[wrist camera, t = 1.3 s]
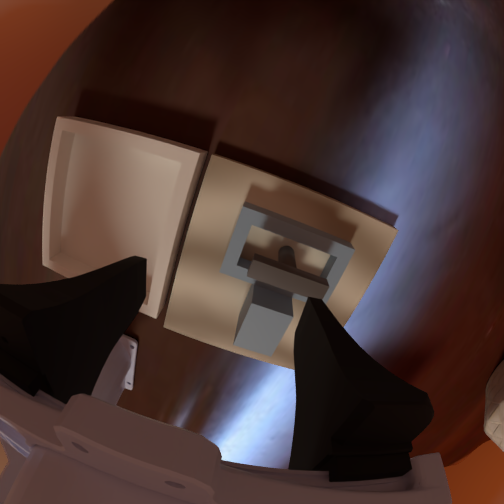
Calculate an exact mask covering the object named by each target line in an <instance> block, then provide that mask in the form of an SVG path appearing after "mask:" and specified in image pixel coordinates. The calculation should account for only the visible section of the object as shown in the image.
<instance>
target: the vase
mask: <svg viewBox="0 0 504 504" xmlns="http://www.w3.org/2000/svg"><path fill="white" fill-rule="evenodd" d="M484 431H485V433H486V434H487V435H488V436H489V437H490V438H491V439H492V440H493V441H494V442H495V443H496V444H497V445H498V446H499V448H501V449H502V451H504V359H503V361H502V362H501V363H500V364H499V365H498V366H497V368H496V369H495V370H494V372H493V373H492V375H491V377H490V378H489V380H488V383H487V386H486V403H485V420H484Z"/></svg>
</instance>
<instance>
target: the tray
mask: <svg viewBox="0 0 504 504" xmlns="http://www.w3.org/2000/svg"><path fill="white" fill-rule="evenodd" d="M207 154H208V151H205V150H202V149H199V148H196V147H193V146H189V145H186V144H183V143H179V142H176V141H173V140H169V139H166V138H162V137H159V136H155V135H151V134H148V133H144V132H140V131H136V130H132V129H128V128H124V127H120V126H116V125H112V124H108V123H103V122H99V121H94V120H90V119H85V118H80V117H75V116H71V117H57V120H56V124H55V129H54V133H53V139H52V144H51V150H50V156H49V162H48V169H47V177H46V186H45V196H44V210H43V236H42V255H43V265H44V266H46V267H48V268H50V269H52V270H53V271H55V272H57V273H59V274H61V275H63V276H65V277H67V278H71V277H75V276H79V275H82V274H85V273H88V272H91V271H93V270H96V269H99V268H102V267H104V266H107V265H110V264H112V263H115V262H117V261H120V260H123V259H125V258H128V257H131V256H139V257H143V258H146V259H147V273H146V298H145V300H144V302H143V304H142V306H141V308H140V310H139V312H142V313H144V314H146V315H149V316H151V317H154V318H157V317H158V315H159V313H160V312H161V310H162V308H163V307H164V305H165V303H166V299H167V295H168V291H169V287H170V282H171V278H172V274H173V270H174V266H175V262H176V259H177V255H178V251H179V247H180V243H181V240H182V236H183V233H184V229H185V225H186V222H187V218H188V215H189V212H190V208H191V205H192V201H193V198H194V195H195V192H196V188H197V185H198V182H199V179H200V176H201V173H202V169H203V166H204V163H205V160H206V157H207Z"/></svg>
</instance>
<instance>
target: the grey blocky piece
mask: <svg viewBox="0 0 504 504" xmlns="http://www.w3.org/2000/svg"><path fill="white" fill-rule="evenodd" d="M252 225H253V226H256V227H259V228H262V229H264V230H267V231H270V232H272V233H275V234H278V235H280V236H283V237H286V238H288V239H291V240H294V241H296V242H299V243H301V244H304V245H307V246H309V247H312V248H314V249H317V250H320V251H322V252H325V253H327V254H330V257H329V259H328V261H327V263H326V265H325V267H324V269H323V271H322V273H321V275H320V277H322V278H325V279H327V281H328V284H329V289H328V291H327V292H326V294H325V296H324V298H323V301H324V303H325V304H326V303H327V302H328V300H329V298H330V296H331V295H332V293H333V291H334V289H335V287H336V286H337V284H338V282H339V280H340V278H341V276H342V275H343V273H344V271H345V269H346V267H347V265H348V263H349V261H350V259H351V257H352V256H353V254H354V252H355V249H354V247H353V246H352V244H351V243H350V242H348V241H346V240H343V239H341V238H338V237H336V236H334V235H331V234H329V233H326V232H324V231H321V230H319V229H316V228H314V227H311V226H309V225H306V224H304V223H301V222H299V221H296V220H293V219H291V218H288V217H286V216H283V215H280V214H278V213H275V212H273V211H270V210H267V209H265V208H262V207H259V206H257V205H254V204H251V203H248V202H246V201H245V202H244V204H243V207H242V209H241V212H240V215H239V218H238V221H237V223H236V226H235V229H234V232H233V234H232V237H231V240H230V243H229V246H228V248H227V251H226V254H225V257H224V260H223V263H222V265H221V268H220V271H219V272H220V273H223V274H226V275H228V276H231V277H234V278H237V279H240V280H242V281H245V282H248V283H251V284H252V285H251V287H250V289H249V292H248V294H247V297H246V299H245V301H244V304H243V306H242V308H241V311H240V313H239V317H238V322H237V327H236V332H235V337H234V342H233V345H235V346H238V347H241V348H244V349H247V350H250V351H254V352H257V353H260V354H264V355H267V356H270V357H271V356H272V354H273V353H274V351H275V349H276V348H277V346H278V344H279V342H280V341H281V339H282V337H283V335H284V333H285V332H286V330H287V328H288V326H289V324H290V323H291V321H292V319H293V317H294V316H293V304H292V298H294V299H297V300H300V301H303V302H306V301H307V297H304V296H301V295H298V294H295V293H293V292H290V291H287V290H284V289H281V288H278V287H275V286H272V285H270V284H267V283H264V282H261V281H258V280H255V279H252V278H250V277H247V272H248V268H249V266H250V263H251V261H249V260H246V259H244V258H241V257H240V255H241V252H242V249H243V247H244V244H245V242H246V239H247V236H248V234H249V231H250V228H251V226H252Z"/></svg>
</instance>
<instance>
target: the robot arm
mask: <svg viewBox="0 0 504 504" xmlns="http://www.w3.org/2000/svg"><path fill="white" fill-rule="evenodd" d="M146 273H147V259H146V258H143V257H139V256H131V257H128V258H125V259H123V260H120V261H117V262H115V263H112V264H110V265H107V266H104V267H102V268H99V269H96V270H93V271H91V272H88V273H85V274H82V275H79V276H75V277H71V278H67V279H63V280H58V281H52V282H46V283H39V284H26V285H9V284H0V441H1V444H2V445H3V448H4V450H5V453H6V455H7V458H8V463H7V465H6V466H5V468H4V470H3V472H2V473H1V475H0V504H452V499H451V494H450V490H449V486H448V482H447V478H446V475H445V470H444V467H443V463H442V459H441V456H440V453H432V454H427V455H420V456H416V457H414V458H412V459H410V457H409V453H408V452H411V451H412V449H413V447H412V444H411V441H412V440H413V439H415V438H416V437H417V436H418V435H419V434H420V433H421V432H422V431H423V430H424V429H425V428H426V427H427V426H428V425H429V424H430V422H431V420H432V418H433V416H434V410H433V407H432V404H431V402H430V399H429V397H428V394H427V393H426V392H424V391H422V390H420V389H418V388H416V387H414V386H412V385H410V384H408V383H406V382H405V381H403V380H402V379H400V378H398V377H397V376H395V375H394V374H392V373H391V372H389V371H388V370H387V369H385V368H384V367H383V366H381V365H380V364H379V363H378V362H376V361H375V360H374V359H373V358H372V357H371V356H369V355H368V354H367V353H366V352H365V351H364V350H363V349H362V348H361V347H360V346H359V345H358V344H357V343H356V342H355V341H354V339H353V338H352V337H351V336H350V335H349V334H348V333H347V331H346V330H345V329H344V328H343V327H342V325H341V324H340V323H339V321H338V320H337V319H336V317H335V316H334V315H333V313H332V312H331V311H330V309H329V308H328V307H327V305H326V304H325V303H324V301H323V300H322V299H318V298H313V297H309V296H308V298H307V301H306V304H305V306H304V309H303V312H302V315H301V317H300V320H299V322H298V325H297V328H296V330H295V335H294V350H293V353H294V368H295V383H296V411H295V424H294V434H293V442H292V449H291V457H290V462H289V468H288V469H278V468H268V467H260V466H253V465H246V464H240V463H234V462H229V461H223V460H221V458H222V456H221V453H220V450H219V448H218V447H217V446H216V444H214V443H213V442H211V441H210V440H208V439H207V438H205V437H204V436H202V435H199V434H197V433H194V432H191V431H189V430H186V429H183V428H180V427H176V426H173V425H170V424H166V423H163V422H160V421H157V420H154V419H151V418H148V417H145V416H142V415H139V414H137V413H134V412H131V411H129V410H126V409H123V408H121V407H118V406H116V403H117V401H118V399H119V398H120V396H121V394H122V392H123V390H124V388H126V389H129V390H132V389H133V384H134V374H135V364H136V356H137V348H138V342H137V341H136V340H135V339H133V338H131V337H129V336H127V335H124V334H123V333H124V332H125V331H126V329H127V328H128V326H129V325H130V324H131V322H132V321H133V319H134V318H135V316H136V315H137V313H138V312H139V310H140V308H141V306H142V304H143V302H144V300H145V298H146Z"/></svg>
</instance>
